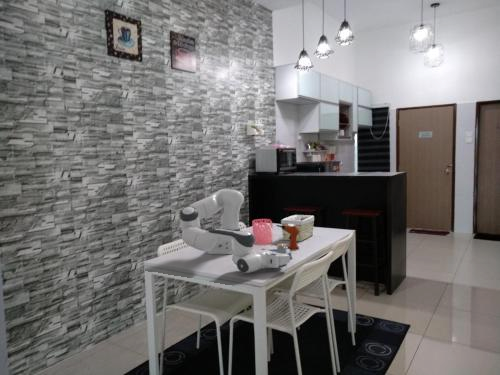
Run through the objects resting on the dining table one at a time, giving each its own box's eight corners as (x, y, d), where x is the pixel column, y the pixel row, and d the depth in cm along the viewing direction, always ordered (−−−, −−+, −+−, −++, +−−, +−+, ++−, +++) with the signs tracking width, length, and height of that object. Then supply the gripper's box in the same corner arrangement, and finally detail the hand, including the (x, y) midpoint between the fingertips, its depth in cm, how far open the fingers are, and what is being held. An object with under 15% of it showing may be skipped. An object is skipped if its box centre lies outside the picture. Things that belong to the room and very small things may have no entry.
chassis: (261, 261, 218) (260, 255, 218) (259, 254, 232) (259, 248, 232) (292, 259, 219) (292, 253, 218) (289, 253, 233) (289, 247, 232)
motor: (278, 266, 207) (277, 246, 206) (277, 263, 212) (276, 244, 211) (287, 265, 207) (286, 245, 206) (286, 263, 212) (285, 243, 211)
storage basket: (295, 233, 288) (294, 214, 286) (315, 235, 279) (315, 215, 278) (280, 240, 267) (280, 219, 266) (302, 242, 259) (301, 220, 258)
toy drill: (278, 242, 256) (279, 220, 253) (300, 250, 242) (302, 227, 240) (273, 243, 252) (274, 221, 250) (295, 251, 239) (297, 228, 236)
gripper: (251, 261, 208) (269, 255, 218) (279, 268, 193) (297, 262, 202) (251, 249, 208) (269, 244, 217) (278, 256, 193) (296, 250, 202)
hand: (283, 253), depth 210 cm, fingers closed on motor, 5 cm apart
